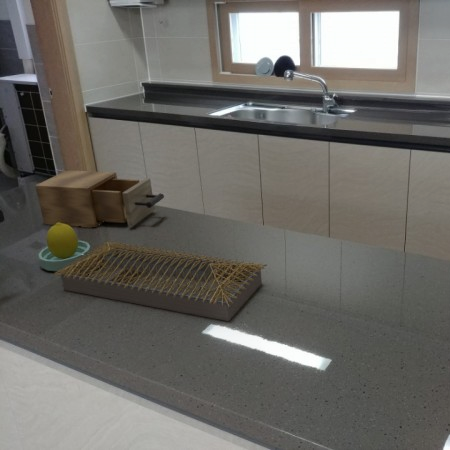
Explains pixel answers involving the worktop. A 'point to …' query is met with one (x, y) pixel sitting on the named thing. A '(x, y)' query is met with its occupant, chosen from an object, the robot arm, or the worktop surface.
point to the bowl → (56, 264)
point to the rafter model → (166, 266)
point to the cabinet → (71, 197)
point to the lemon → (62, 241)
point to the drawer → (124, 200)
